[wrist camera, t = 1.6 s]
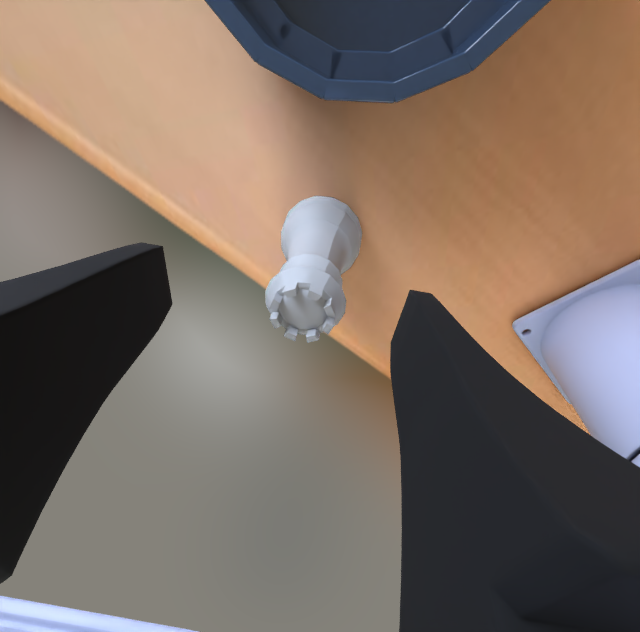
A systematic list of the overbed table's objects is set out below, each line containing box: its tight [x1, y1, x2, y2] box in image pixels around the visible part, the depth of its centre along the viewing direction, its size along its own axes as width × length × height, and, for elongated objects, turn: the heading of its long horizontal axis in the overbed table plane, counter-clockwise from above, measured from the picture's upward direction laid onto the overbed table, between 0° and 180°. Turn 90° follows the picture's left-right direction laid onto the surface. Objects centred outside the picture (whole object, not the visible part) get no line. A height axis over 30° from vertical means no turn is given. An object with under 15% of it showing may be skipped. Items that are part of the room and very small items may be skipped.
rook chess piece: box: [265, 196, 362, 342], centre depth 16 cm, size 4×4×8 cm
